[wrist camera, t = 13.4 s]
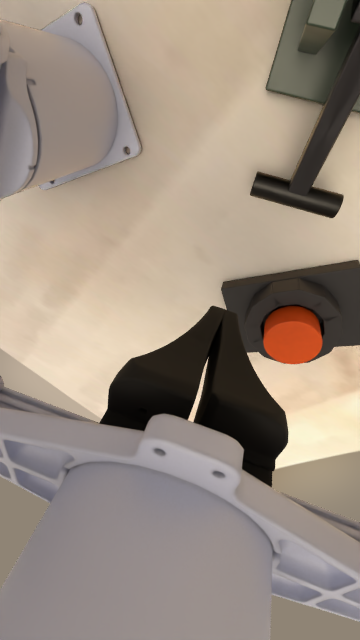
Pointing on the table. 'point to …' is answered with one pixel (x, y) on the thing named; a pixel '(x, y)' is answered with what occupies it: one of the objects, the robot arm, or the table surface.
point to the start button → (292, 335)
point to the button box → (299, 303)
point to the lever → (319, 142)
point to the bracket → (312, 49)
